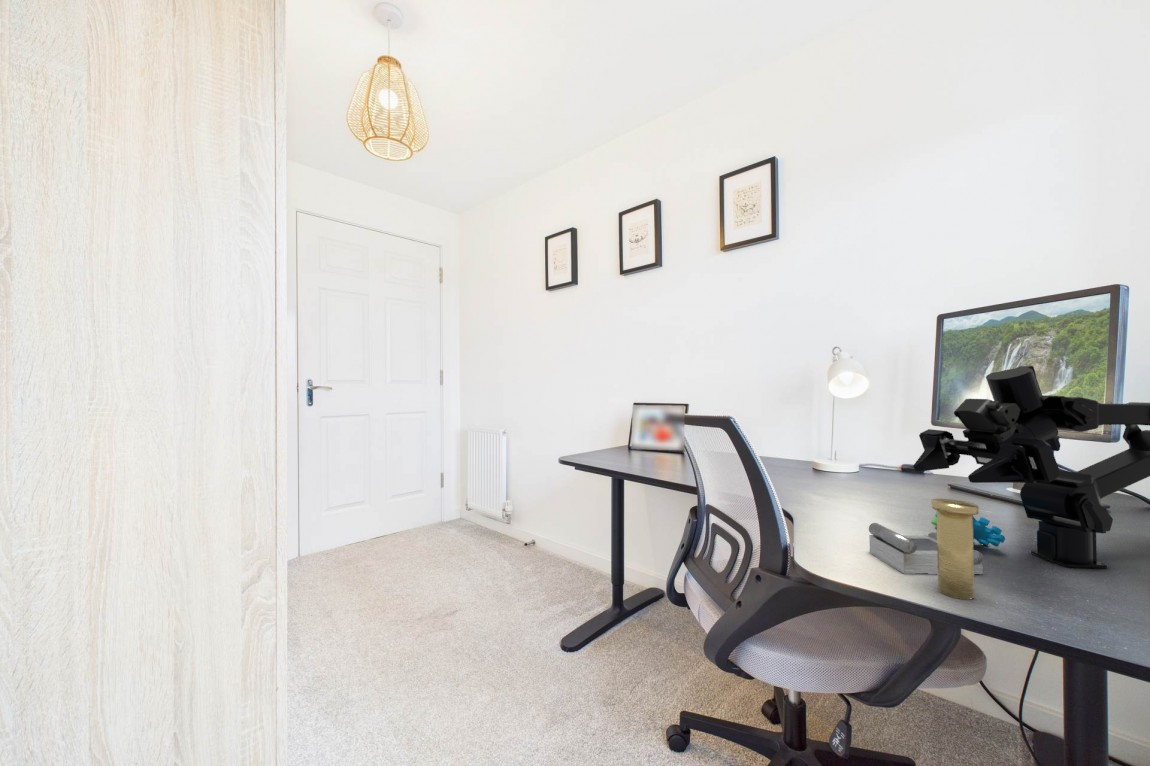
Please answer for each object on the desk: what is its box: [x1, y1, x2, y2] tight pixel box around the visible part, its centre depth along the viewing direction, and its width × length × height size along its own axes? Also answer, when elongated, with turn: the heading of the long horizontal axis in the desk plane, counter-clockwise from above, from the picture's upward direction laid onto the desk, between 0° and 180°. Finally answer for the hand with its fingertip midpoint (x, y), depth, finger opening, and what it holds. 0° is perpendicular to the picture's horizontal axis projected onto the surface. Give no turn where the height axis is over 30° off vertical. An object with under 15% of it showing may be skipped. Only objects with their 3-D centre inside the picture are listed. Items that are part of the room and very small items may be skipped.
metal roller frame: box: [868, 522, 984, 575], centre depth 75 cm, size 12×9×5 cm
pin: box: [930, 498, 980, 600], centre depth 64 cm, size 5×5×13 cm
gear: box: [931, 511, 1006, 547], centre depth 83 cm, size 11×6×10 cm
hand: (940, 473), depth 72 cm, fingers open, 9 cm apart
